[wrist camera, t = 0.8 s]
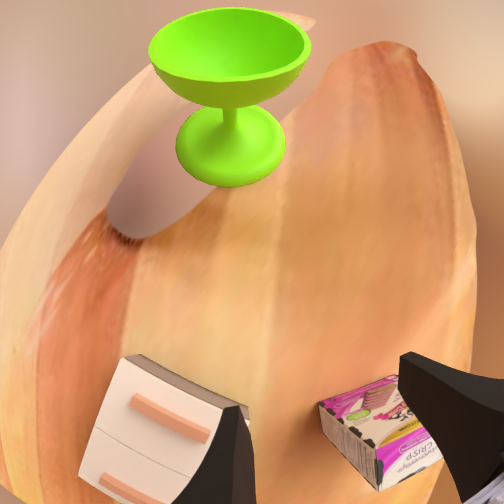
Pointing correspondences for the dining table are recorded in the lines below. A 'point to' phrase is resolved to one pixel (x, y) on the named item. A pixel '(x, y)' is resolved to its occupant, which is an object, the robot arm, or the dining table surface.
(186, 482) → the lid
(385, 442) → the candy bar box
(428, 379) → the robot arm
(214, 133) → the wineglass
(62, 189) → the dining table surface
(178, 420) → the lid
